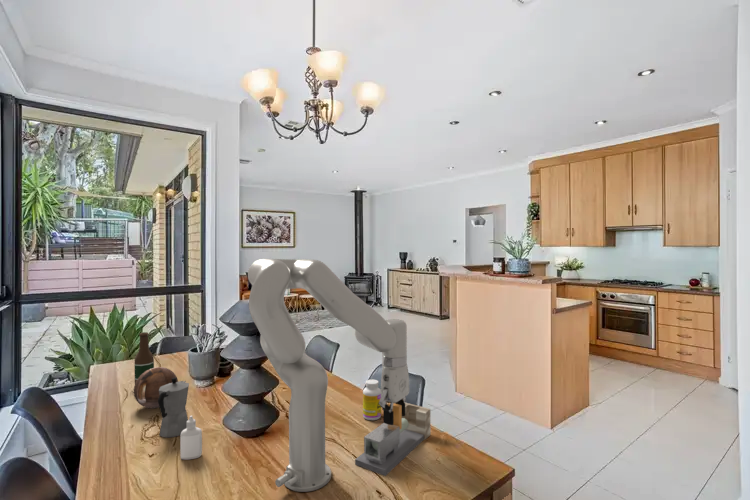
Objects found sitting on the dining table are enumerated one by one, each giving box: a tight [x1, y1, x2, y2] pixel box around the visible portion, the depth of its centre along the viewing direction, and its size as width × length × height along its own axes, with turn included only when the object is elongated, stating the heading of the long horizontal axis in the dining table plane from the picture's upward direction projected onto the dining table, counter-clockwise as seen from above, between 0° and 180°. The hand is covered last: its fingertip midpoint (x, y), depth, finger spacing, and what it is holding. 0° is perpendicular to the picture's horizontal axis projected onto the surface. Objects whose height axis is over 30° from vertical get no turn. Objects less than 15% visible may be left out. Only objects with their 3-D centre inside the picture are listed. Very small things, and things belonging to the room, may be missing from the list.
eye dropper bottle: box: [179, 415, 203, 461], centre depth 113 cm, size 4×6×12 cm
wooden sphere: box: [133, 366, 179, 409], centre depth 149 cm, size 15×15×15 cm
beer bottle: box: [133, 331, 155, 384], centre depth 170 cm, size 8×8×24 cm
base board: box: [354, 429, 424, 477], centre depth 117 cm, size 25×10×2 cm, turn 147°
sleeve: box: [363, 422, 400, 464], centre depth 112 cm, size 11×5×7 cm, turn 147°
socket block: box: [402, 402, 432, 441], centre depth 127 cm, size 4×11×8 cm, turn 57°
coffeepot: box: [158, 377, 190, 439], centre depth 128 cm, size 15×9×18 cm, turn 0°
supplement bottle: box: [362, 379, 382, 421], centre depth 139 cm, size 7×7×13 cm
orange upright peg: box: [372, 402, 409, 451], centre depth 116 cm, size 16×4×10 cm, turn 147°
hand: (394, 418), depth 117 cm, fingers open, 6 cm apart
